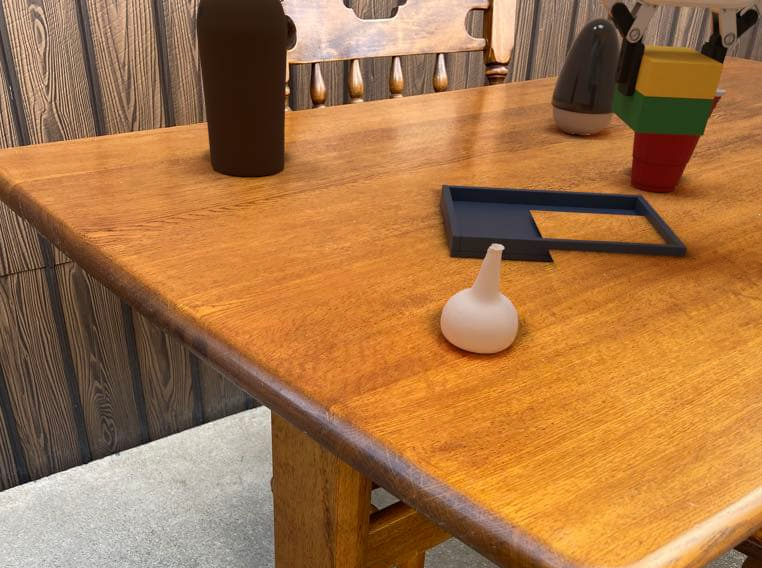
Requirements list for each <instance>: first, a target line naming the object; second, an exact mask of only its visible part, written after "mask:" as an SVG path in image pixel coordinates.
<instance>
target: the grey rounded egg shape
mask: <svg viewBox="0 0 762 568" xmlns="http://www.w3.org/2000/svg"><path fill="white" fill-rule="evenodd" d="M618 33H619V32H618V29H617V27H616V26H615V24H614V22H613V21H612V20H611V21H610V20H609V19H608V18H604V17H596V18H594V19H591V20H590V21H588V22H586V23H585V25H584V26H583V27H582V28H581V30H579V32H578V33H577V35H576V37H575V39H574V40H573V42H572V44H571V46H570V48H569V50H568V52H567V55H566V57H565V58H564V62H563V63H562V66H561V68H560V71H559V73H558V77H557V79H556V83H555V85H554V89H553V92H552V97H551V102H550V104H551V106H552V116H553V119H554V123H555V124H556V126H557V127H558V129H560V130H561V131H562V132H564V131H566V132H569V133H574V134H593V135H596V134H598V133H600V132H601V131H603V130H604V129H606V127H608V125H609V124H610V122H611V120H612V119H613V117H614V115H615V113H613V112H612V111H611V107H612V102H613V98H614V93H615V89H616V84H617V83H616V82H615V73H616V68H617V64H618V59H619V55H620V50H621V43H620V38H619V34H618ZM566 132H565V133H566ZM569 133H568V134H569ZM574 134H573V135H574Z"/></svg>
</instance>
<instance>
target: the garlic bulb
mask: <svg viewBox="0 0 762 568" xmlns="http://www.w3.org/2000/svg"><path fill="white" fill-rule="evenodd" d="M502 250H504V246H502V245H499V244H492V246H490V247H489V249H488V250H487V254H486V257H485V258H483V261H482V264H481V266H480V269H479V272H478V274H477V276H476V279H475V280H474V283H473V284H472V286H471V287H468V288H465V289H462V290H460V291H458V292H457V293H455V294H453V295H452V296H451V297H450V298H449V299H448V300H447V301H446V303H445V304H444V306H443V308H442V312H441V315H440V329H441V330H440V331H441V332H442V334H443V336H444V338H445V339H446V340H447V341H448V342H449V343H450V344H452V345H454V346H455V347H456V348H459V349H462V350H464V351H466V352H471V353H475V354H495V353H500V352H502V351H504V350H506V349H508V348H509V347H510V346H511V345H512V344H513V342H514V341H515V339H516V337H517V334H518V330H519V317H518V312H517V310H516V307H515V305H514V304H513V302H512V301H511V300H510V299H509V298H508V297H507V296H506V295H505V294H503V293H501V292H500V291H501V289H500V284H501V283H500V282H501V281H500V278H501V277H500V276H501V266H502V265H501V264H502V259H501V255H502Z"/></svg>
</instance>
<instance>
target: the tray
mask: <svg viewBox="0 0 762 568" xmlns="http://www.w3.org/2000/svg"><path fill="white" fill-rule="evenodd" d="M439 201H440V202H439V203H440V204H439V205H440V208H441V214H442V219H443V224H444V230H445V234H446V239H447V244H448V249H449V255H450V257H454V258H473V259H485V257H486V254H487V250H488V249H489V247H490V246H492V244H499V245H502V246H504V250H502V255H501V260H512V261H513V260H514V261H530V262H531V261H533V262H551V263H553V262H555V261H554V259H553V255H552V254H551V252H550V250H553V251H554V250H555V251H572V252H574V251H575V252H590V253H591V252H592V253H593V252H594V253H611V254H630V255H631V254H632V255H650V256H670V257H686V253H687V249H688V247H687V246H686V245H685V243H684V242H683V241H682V240H681V239H680V238H679V237H678V235H677V234H676V233H675V232H674V231H673V230H672V228H671V227H670V226H669V225H668V224H667V222H665V220H664V219H663V218H662V217H661V216H660V215H659V213H658V212H657V211H656V210H655V209H654V208H653V207H652V205H651V204H650V202H648V200H647V199H646V198H645V197H644V196H643V194H626V193H609V192H592V191H591V192H590V191H589V192H588V191H570V190H551V189H532V188H515V187H514V188H511V187H493V186H473V185H455V184H454V185H453V184H442V185H441V193H440V200H439ZM531 211H535V212H554V213H573V214H575V213H576V214H592V215H611V216H633V217H644V218H645V219H646V220H647V221H648V222H649V224H650V225H651V227H653V229H654V230H655V231H656V233H658V235H659V236H660V237H661V238H662V239H663V241H664V242H665V243H649V242H633V241H632V242H631V241H630V242H629V241H612V240H611V241H609V240H591V239H590V240H589V239H572V238H571V239H570V238H555V237H554V238H551V237H543V236H542V234H541V233H542V232H541V231H540V229H539V226H538V224H537V223H536V220H535V219H534V216H533V214H532V212H531Z"/></svg>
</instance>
